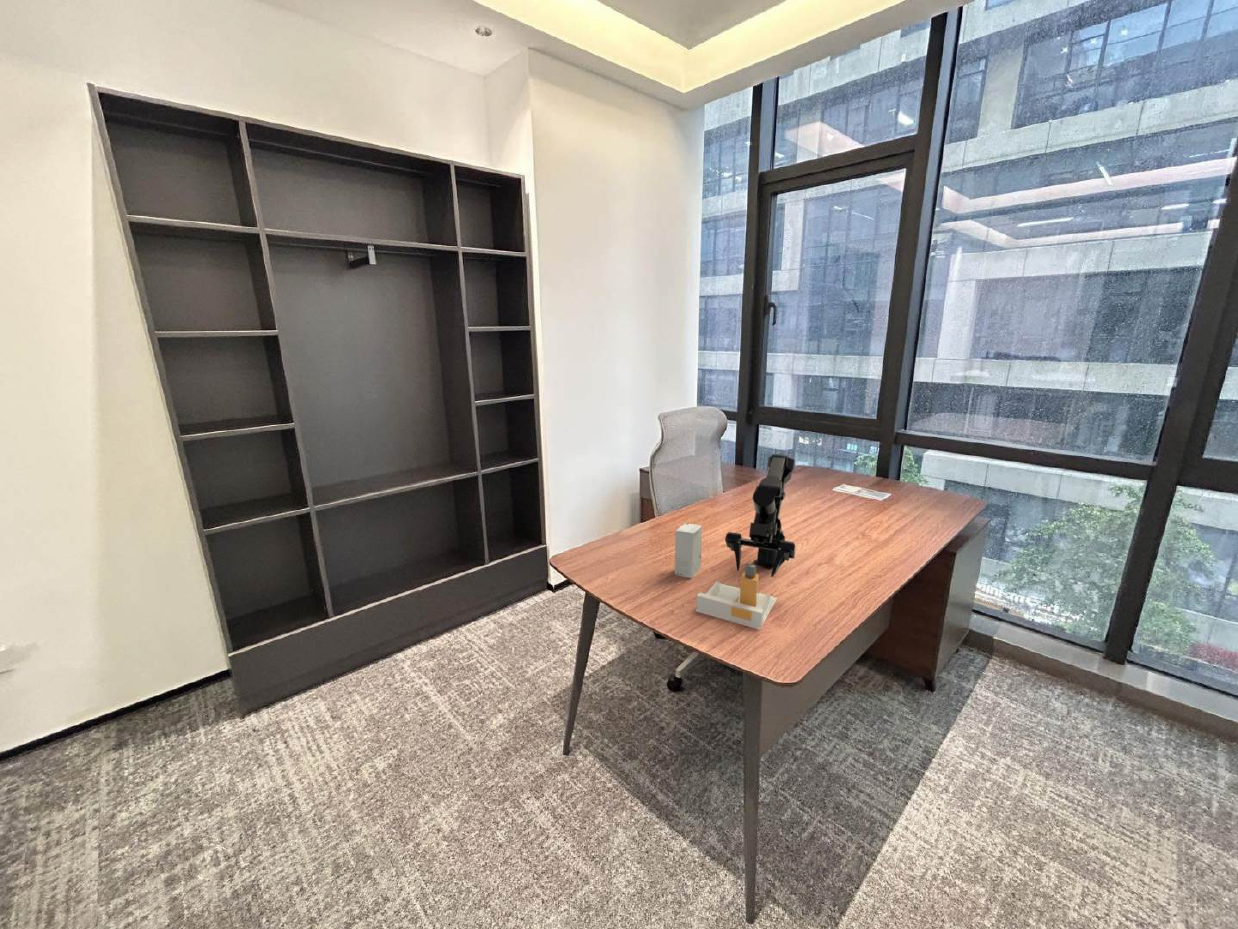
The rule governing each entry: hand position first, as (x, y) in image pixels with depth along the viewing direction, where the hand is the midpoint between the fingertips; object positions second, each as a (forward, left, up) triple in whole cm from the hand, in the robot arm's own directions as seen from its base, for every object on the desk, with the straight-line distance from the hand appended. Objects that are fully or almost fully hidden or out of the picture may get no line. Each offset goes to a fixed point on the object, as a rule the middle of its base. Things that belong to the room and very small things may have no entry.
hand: (754, 573), depth 137 cm
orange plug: (+7, +4, -7) cm, 11 cm away
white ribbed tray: (+6, 0, -8) cm, 10 cm away
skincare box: (+3, -23, -8) cm, 24 cm away
